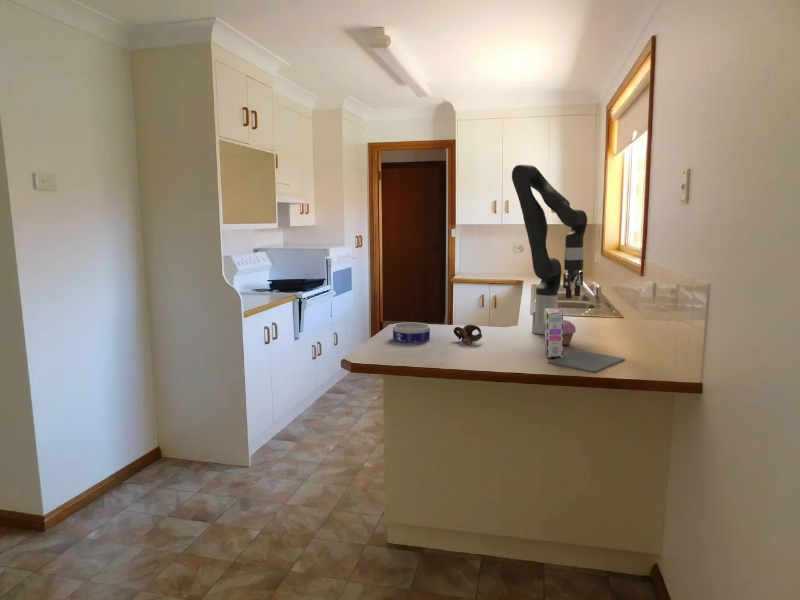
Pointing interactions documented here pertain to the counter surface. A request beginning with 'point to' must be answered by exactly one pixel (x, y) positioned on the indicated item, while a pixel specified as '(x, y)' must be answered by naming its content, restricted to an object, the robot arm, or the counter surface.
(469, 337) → the brown curled figurine
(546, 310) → the candy box
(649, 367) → the counter surface
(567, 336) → the cupcake
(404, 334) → the dog bowl
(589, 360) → the mat
